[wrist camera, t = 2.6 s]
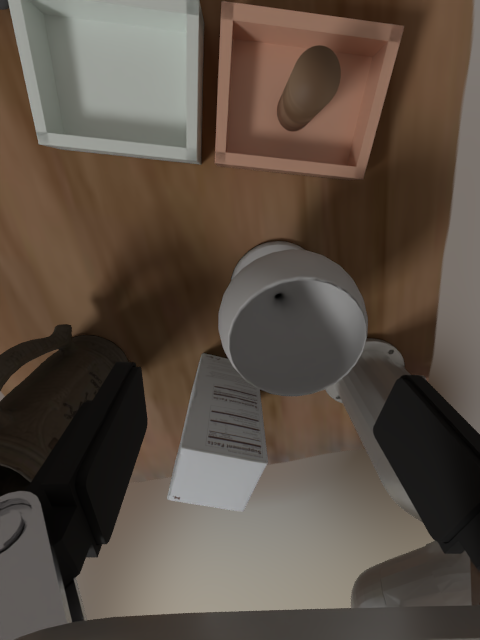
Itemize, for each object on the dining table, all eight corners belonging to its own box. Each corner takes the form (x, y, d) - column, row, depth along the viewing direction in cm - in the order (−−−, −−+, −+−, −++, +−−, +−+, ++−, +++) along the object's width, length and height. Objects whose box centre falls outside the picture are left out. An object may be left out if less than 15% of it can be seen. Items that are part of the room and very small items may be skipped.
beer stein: (142, 387, 43) (67, 519, 24) (82, 397, 44) (-34, 532, 25) (105, 302, 37) (-29, 390, 19) (37, 315, 38) (-155, 413, 20)
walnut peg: (316, 89, 25) (346, 48, 18) (308, 133, 27) (333, 112, 20) (279, 84, 25) (296, 42, 18) (274, 129, 27) (287, 106, 20)
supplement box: (242, 407, 45) (243, 515, 30) (190, 396, 44) (165, 503, 29) (258, 364, 41) (270, 464, 26) (202, 350, 40) (179, 448, 25)
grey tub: (204, 23, 24) (198, -3, 21) (201, 164, 29) (196, 161, 26) (33, 0, 23) (1, -30, 20) (61, 149, 28) (38, 144, 25)
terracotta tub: (383, 47, 24) (404, 25, 21) (349, 180, 29) (363, 179, 26) (223, 25, 24) (221, 0, 21) (217, 166, 29) (214, 163, 26)
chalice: (251, 212, 31) (262, 229, 18) (347, 261, 34) (419, 308, 20) (208, 308, 37) (190, 377, 23) (293, 344, 39) (321, 423, 26)
